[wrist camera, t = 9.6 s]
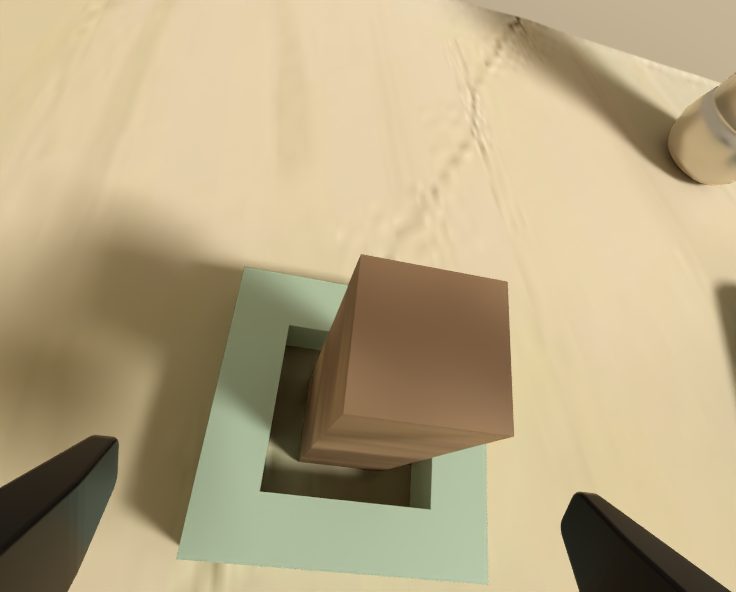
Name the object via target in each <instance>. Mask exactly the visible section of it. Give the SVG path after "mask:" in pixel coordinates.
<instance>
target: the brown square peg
mask: <svg viewBox="0 0 736 592" xmlns="http://www.w3.org/2000/svg"><path fill="white" fill-rule="evenodd" d="M513 436H514V423H513V400H512V376H511V352H510V329H509V305H508V282H506V281H501V280H496V279H490V278H485V277H480V276H474V275H469V274H464V273H458V272H453V271H448V270H442V269H437V268H432V267H426V266H421V265H416V264H410V263H405V262H400V261H394V260H389V259H384V258H378V257H373V256H368V255H362V254H361V256H360V258H359V260H358V263H357V265H356V268H355V270H354V273H353V275H352V277H351V280H350V282H349V285H348V287H347V290H346V292H345V294H344V297H343V299H342V302H341V304H340V307H339V309H338V311H337V314H336V316H335V319H334V321H333V324H332V326H331V328H330V331H329V333H328V336H327V338H326V340H325V343H324V345H323V348H322V350H321V353H320V355H319V357H318V360H317V362H316V365H315V367H314V370H313V372H312V374H311V377H310V382H309V389H308V396H307V403H306V410H305V416H304V423H303V430H302V437H301V444H300V451H299V458H298V462H306V463H315V464H324V465H332V466H341V467H350V468H359V469H367V470H376V471H383V470H387V469H391V468H395V467H398V466H402V465H406V464H410V463H414V462H418V461H421V460H425V459H429V458H433V457H437V456H440V455H444V454H448V453H452V452H456V451H460V450H463V449H467V448H471V447H475V446H479V445H483V444H486V443H490V442H494V441H498V440H502V439H505V438H509V437H513Z"/></svg>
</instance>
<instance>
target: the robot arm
mask: <svg viewBox="0 0 736 592" xmlns="http://www.w3.org/2000/svg"><path fill="white" fill-rule="evenodd" d="M118 450H119V443H118V440H117V439H116V438H115V437H109V436H101V435H93V436H90V437H88V438H86V439H85V440H83V441H81V442H79V443H78V444H76V445H74V446H72V447H71V448H69V449H67V450H65V451H64V452H62V453H60V454H58V455H57V456H55V457H53V458H51V459H50V460H48V461H46V462H44V463H43V464H41V465H39V466H37V467H36V468H34V469H32V470H30V471H29V472H27V473H25V474H23V475H22V476H20V477H18V478H16V479H15V480H13V481H11V482H9V483H8V484H6V485H4V486H2V487H1V488H0V592H68V590H69V588H70V586H71V584H72V582H73V580H74V578H75V576H76V575H77V573H78V570H79V568H80V566H81V564H82V561H83V559H84V557H85V554H86V552H87V550H88V547H89V545H90V543H91V540H92V538H93V536H94V533H95V531H96V529H97V526H98V524H99V522H100V519H101V517H102V515H103V512H104V510H105V508H106V505H107V503H108V501H109V498H110V496H111V494H112V491H113V489H114V486H115V483H116V479H117V473H118ZM561 534H562V537H563V540H564V544H565V547H566V550H567V553H568V556H569V560H570V563H571V566H572V569H573V573H574V576H575V579H576V582H577V585H578V589H579V592H731V591H729V590H728V589H727V588H725V587H724V586H723V585H721V584H720V583H719V582H717V581H716V580H714V579H713V578H712V577H710V576H709V575H708V574H706V573H705V572H703V571H702V570H701V569H699V568H698V567H697V566H695V565H694V564H692V563H691V562H690V561H688V560H687V559H686V558H684V557H683V556H681V555H680V554H679V553H677V552H676V551H675V550H673V549H672V548H670V547H669V546H668V545H666V544H665V543H664V542H662V541H661V540H659V539H658V538H657V537H655V536H654V535H653V534H651V533H650V532H648V531H647V530H646V529H644V528H643V527H642V526H640V525H639V524H637V523H636V522H635V521H633V520H632V519H631V518H629V517H628V516H626V515H625V514H624V513H622V512H621V511H620V510H618V509H617V508H615V507H614V506H613V505H611V504H610V503H609V502H607V501H606V500H605V499H603V498H602V497H600V496H599V495H597V494H594V493H587V492H577V493H575V494H574V495H573V497H572V499H571V501H570V503H569V505H568V508H567V510H566V512H565V514H564V516H563V518H562V521H561Z"/></svg>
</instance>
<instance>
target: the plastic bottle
mask: <svg viewBox="0 0 736 592" xmlns="http://www.w3.org/2000/svg"><path fill="white" fill-rule="evenodd" d="M668 148H669V152H670V154H671V156H672V158H673V160H674V162H675V163H676V164H677V165H678V167H679V168H680V169H681V170H682V171H683V172H684V173H686V174H687V175H688V176H689V177H691V178H693V179H694V180H696V181H698V182H700V183H703V184H707V185H721V184H730V183H732V182H734V181H736V73H734V74H733V75H732V76H731V77H729V78H728V79H727V80H726V81H725V82H723V83H722V84H721V85H719V86H717V87H716V88H714V89H713V90H711V91H709V92H708V93H706V94H705V95H703V96H702V97H700V98H699V99H698V100H696V101H695V102H694V103H692V104H691V105H690V106H688V107H687V108H686V109H685V110H684V112H683V113H682V114H681V115H680V117H679V118H678V119H677V121H676V122H675V123H674V124H673V126H672V128H671V131H670V135H669V139H668Z"/></svg>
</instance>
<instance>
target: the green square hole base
mask: <svg viewBox="0 0 736 592" xmlns="http://www.w3.org/2000/svg"><path fill="white" fill-rule="evenodd" d="M347 287H348V285H344V284H338V283H333V282H327V281H322V280H316V279H310V278H305V277H299V276H294V275H288V274H282V273H277V272H271V271H266V270H260V269H255V268H249V267H244V271H243V276H242V280H241V284H240V288H239V293H238V297H237V301H236V305H235V310H234V314H233V318H232V322H231V327H230V331H229V335H228V340H227V344H226V348H225V352H224V357H223V361H222V365H221V369H220V374H219V378H218V382H217V387H216V391H215V395H214V399H213V404H212V408H211V412H210V416H209V421H208V425H207V429H206V433H205V438H204V442H203V446H202V451H201V455H200V459H199V463H198V468H197V472H196V476H195V480H194V485H193V489H192V493H191V498H190V502H189V506H188V510H187V515H186V519H185V523H184V527H183V532H182V536H181V540H180V544H179V549H178V553H177V557H176V559H180V560H192V561H204V562H216V563H229V564H241V565H253V566H265V567H278V568H290V569H302V570H314V571H326V572H339V573H351V574H363V575H375V576H388V577H400V578H412V579H424V580H436V581H449V582H461V583H473V584H485V585H488V537H487V470H486V444H483V445H479V446H475V447H471V448H467V449H463V450H460V451H456V452H452V453H448V454H444V455H440V456H437V457H433V458H429V459H425V460H421V461H418V462H414V463H412V469H411V489H410V507H401V506H392V505H382V504H373V503H364V502H354V501H345V500H335V499H326V498H317V497H307V496H298V495H288V494H279V493H270V492H260V487H261V481H262V476H263V470H264V464H265V459H266V453H267V447H268V442H269V436H270V431H271V425H272V419H273V414H274V408H275V402H276V397H277V391H278V385H279V380H280V374H281V368H282V363H283V357H284V351H285V346H286V345H289V346H295V347H302V348H308V349H315V350H322V348H323V345H324V343H325V340H326V338H327V336H328V333H329V331H330V328H331V326H332V324H333V321H334V319H335V316H336V314H337V311H338V309H339V307H340V304H341V302H342V299H343V297H344V294H345V292H346V290H347Z"/></svg>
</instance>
